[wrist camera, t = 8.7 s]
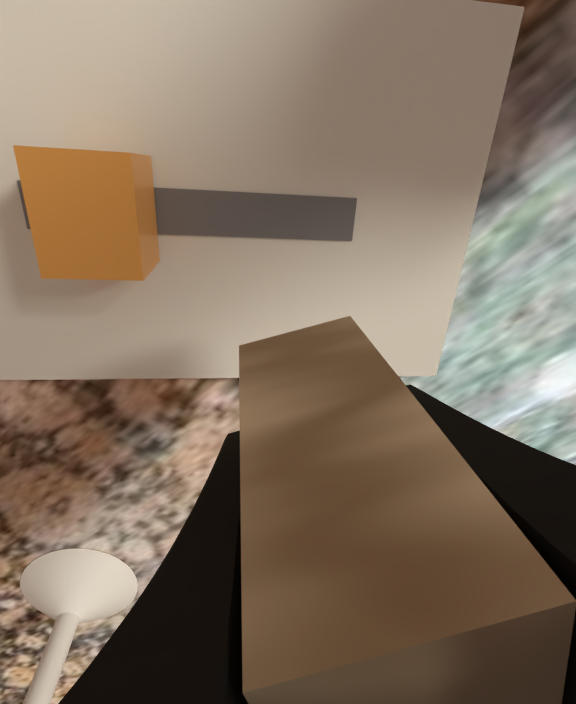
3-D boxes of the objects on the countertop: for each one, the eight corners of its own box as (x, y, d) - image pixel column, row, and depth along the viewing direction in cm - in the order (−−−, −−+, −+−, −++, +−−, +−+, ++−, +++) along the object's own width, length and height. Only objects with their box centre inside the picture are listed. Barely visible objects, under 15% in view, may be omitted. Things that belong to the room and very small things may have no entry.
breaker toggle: (151, 156, 13) (130, 152, 11) (159, 261, 15) (143, 280, 12) (57, 150, 13) (12, 145, 10) (76, 258, 14) (41, 278, 12)
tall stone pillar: (350, 315, 11) (577, 601, 4) (366, 408, 12) (554, 750, 5) (238, 345, 11) (242, 692, 4) (268, 435, 12) (313, 818, 5)
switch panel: (502, 19, 14) (526, 5, 13) (425, 364, 20) (437, 377, 19) (-121, -56, 11) (-162, -82, 10) (-1, 367, 17) (-18, 381, 16)
